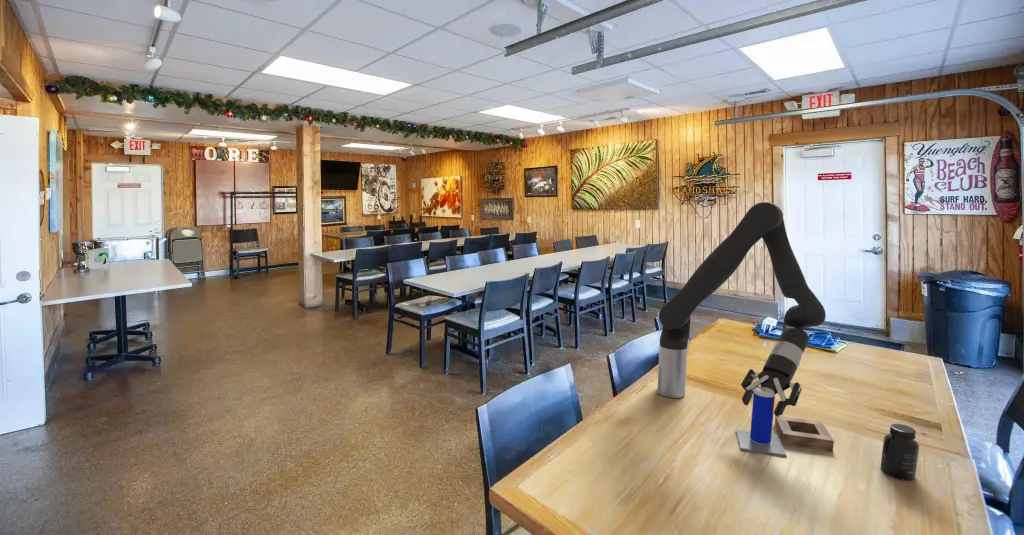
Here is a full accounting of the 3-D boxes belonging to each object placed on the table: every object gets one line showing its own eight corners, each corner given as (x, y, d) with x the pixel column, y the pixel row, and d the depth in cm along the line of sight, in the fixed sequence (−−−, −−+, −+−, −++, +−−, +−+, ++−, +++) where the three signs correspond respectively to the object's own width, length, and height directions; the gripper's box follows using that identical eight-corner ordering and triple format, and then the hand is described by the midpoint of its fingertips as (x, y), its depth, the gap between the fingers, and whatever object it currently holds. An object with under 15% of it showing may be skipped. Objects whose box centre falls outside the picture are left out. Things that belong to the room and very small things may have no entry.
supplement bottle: (873, 466, 121) (878, 421, 120) (898, 465, 122) (903, 420, 120) (897, 482, 114) (902, 435, 113) (923, 480, 115) (929, 433, 113)
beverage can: (773, 446, 130) (778, 394, 127) (752, 444, 131) (757, 393, 128) (767, 437, 135) (771, 387, 132) (747, 435, 136) (751, 385, 133)
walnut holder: (782, 443, 132) (783, 433, 132) (774, 424, 144) (775, 415, 143) (832, 451, 129) (833, 440, 128) (820, 431, 140) (821, 421, 139)
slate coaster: (740, 449, 129) (740, 447, 129) (736, 431, 139) (736, 429, 139) (786, 457, 126) (786, 454, 126) (778, 437, 136) (778, 435, 136)
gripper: (754, 347, 139) (730, 394, 134) (807, 360, 128) (783, 411, 123) (762, 361, 143) (739, 407, 138) (814, 375, 132) (791, 425, 126)
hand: (760, 409), depth 130 cm, fingers open, 8 cm apart
